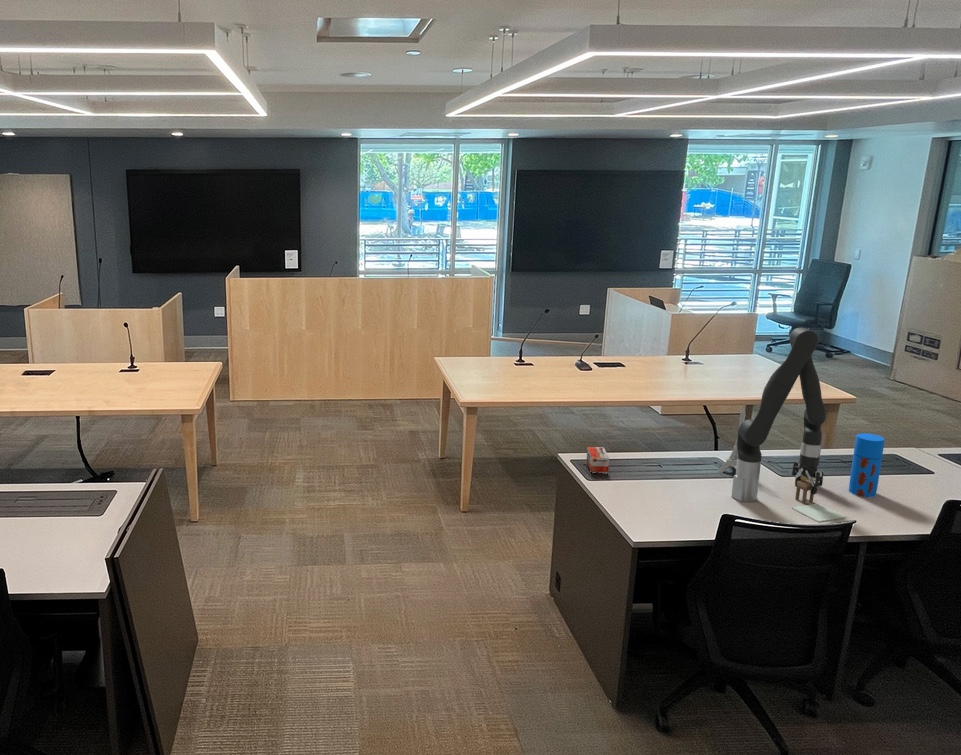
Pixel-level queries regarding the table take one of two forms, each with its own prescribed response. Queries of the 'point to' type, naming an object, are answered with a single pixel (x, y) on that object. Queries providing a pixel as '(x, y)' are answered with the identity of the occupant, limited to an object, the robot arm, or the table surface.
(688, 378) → the table surface
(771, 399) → the robot arm
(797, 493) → the stool
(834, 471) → the table surface
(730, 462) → the eiffel tower
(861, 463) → the thermos
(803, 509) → the pad
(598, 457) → the medicine box
